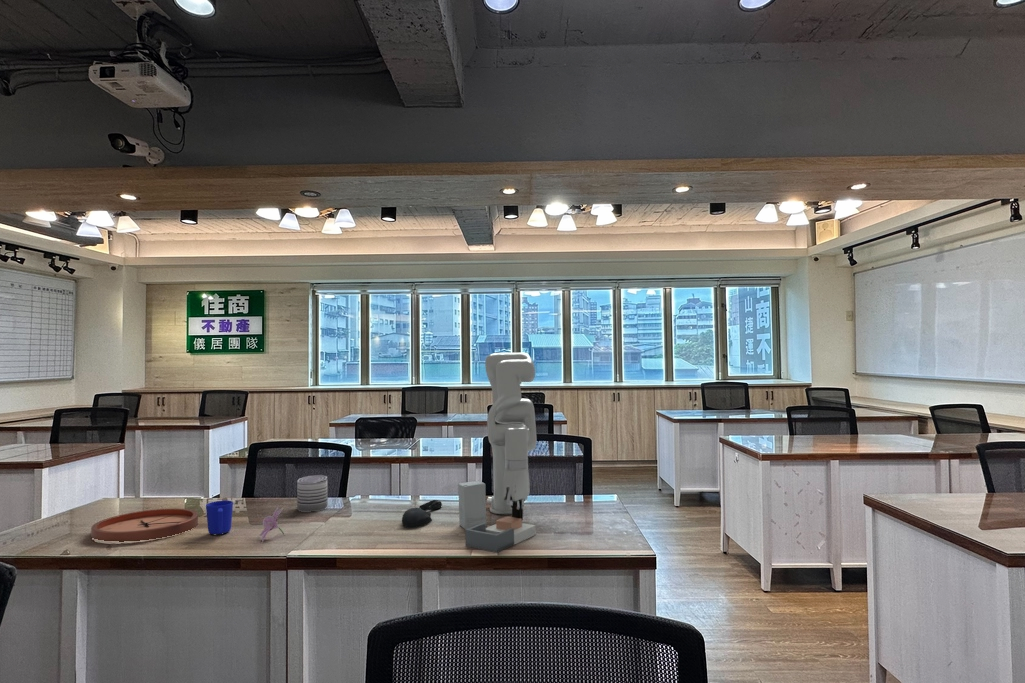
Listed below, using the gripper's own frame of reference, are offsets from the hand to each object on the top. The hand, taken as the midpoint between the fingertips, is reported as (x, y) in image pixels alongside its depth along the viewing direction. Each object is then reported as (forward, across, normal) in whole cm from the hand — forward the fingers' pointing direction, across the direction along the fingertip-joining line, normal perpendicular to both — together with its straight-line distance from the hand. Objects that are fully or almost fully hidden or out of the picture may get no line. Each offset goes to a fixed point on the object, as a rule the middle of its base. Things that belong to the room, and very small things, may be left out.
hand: (517, 520), depth 196 cm
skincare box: (+4, +1, -18) cm, 19 cm away
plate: (+4, +4, 0) cm, 6 cm away
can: (+4, +14, -87) cm, 88 cm away
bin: (+4, +15, 0) cm, 16 cm away
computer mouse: (+5, 0, -42) cm, 42 cm away
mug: (+4, +53, -85) cm, 100 cm away
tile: (+1, +5, 0) cm, 5 cm away
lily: (+4, +46, -66) cm, 81 cm away
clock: (+5, +64, -112) cm, 129 cm away
